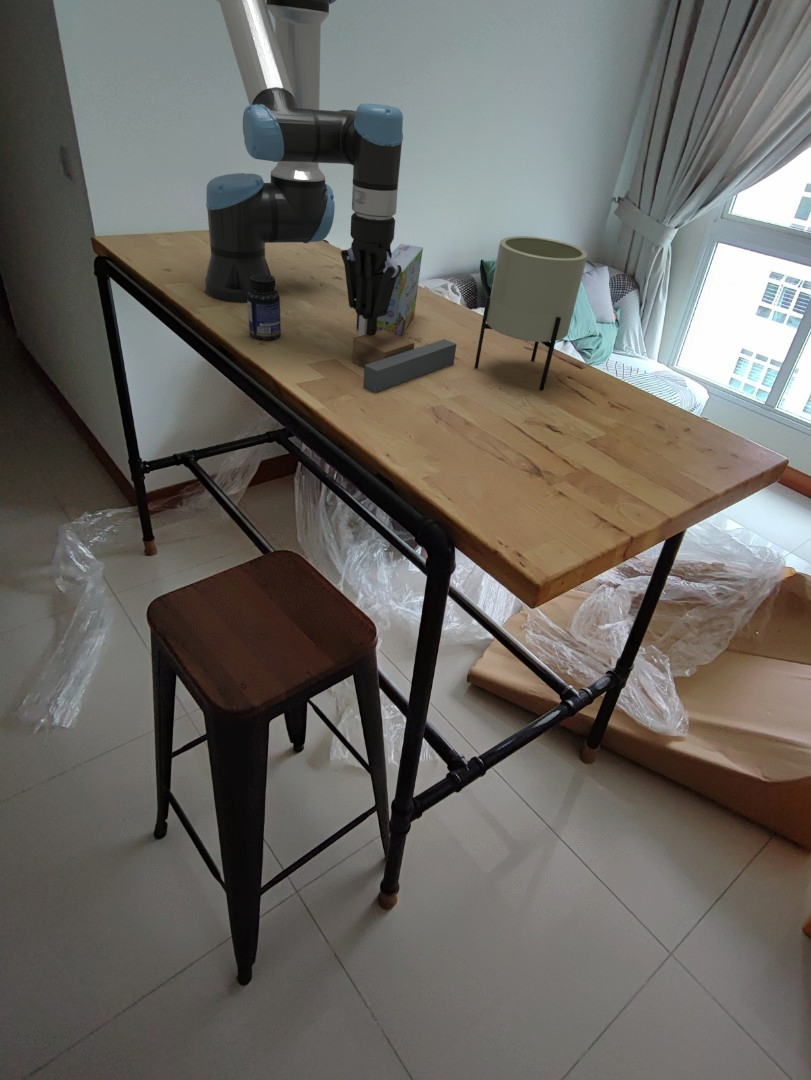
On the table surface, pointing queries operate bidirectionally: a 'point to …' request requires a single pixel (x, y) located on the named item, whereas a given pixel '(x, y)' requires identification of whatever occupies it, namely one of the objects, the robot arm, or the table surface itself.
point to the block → (378, 347)
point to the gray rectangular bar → (408, 365)
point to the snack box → (403, 290)
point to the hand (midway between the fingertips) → (365, 349)
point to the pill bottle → (264, 308)
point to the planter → (534, 292)
